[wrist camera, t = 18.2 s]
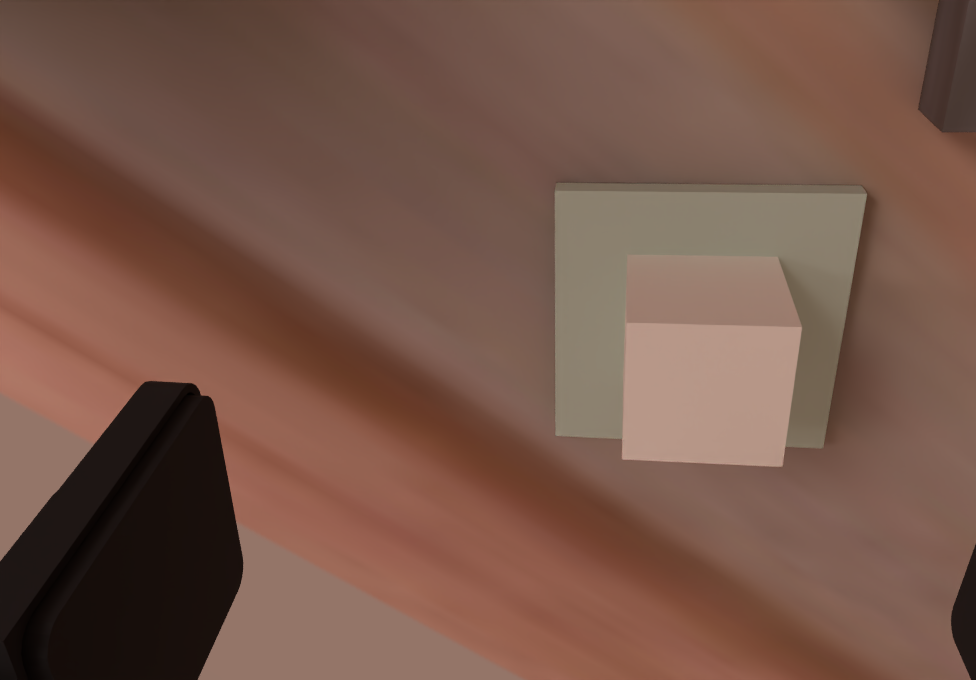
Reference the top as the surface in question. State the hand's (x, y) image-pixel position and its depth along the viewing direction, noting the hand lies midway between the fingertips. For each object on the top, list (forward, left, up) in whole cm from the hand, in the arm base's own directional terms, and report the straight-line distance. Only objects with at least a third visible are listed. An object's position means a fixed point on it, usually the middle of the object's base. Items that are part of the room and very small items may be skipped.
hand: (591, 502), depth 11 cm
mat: (+3, -8, -21) cm, 23 cm away
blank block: (+3, -8, -20) cm, 22 cm away
